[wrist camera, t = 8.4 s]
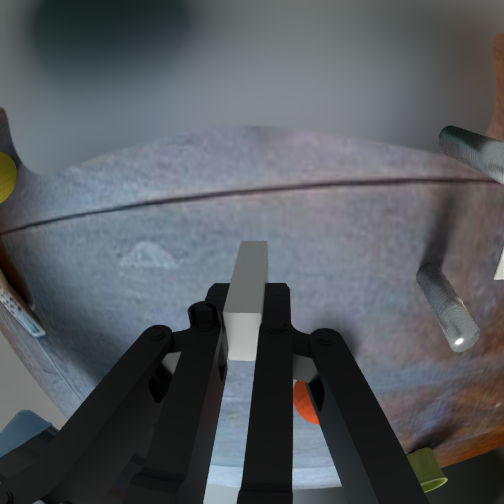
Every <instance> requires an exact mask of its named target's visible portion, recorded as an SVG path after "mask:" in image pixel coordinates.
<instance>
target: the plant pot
mask: <svg viewBox="0 0 504 504" xmlns="http://www.w3.org/2000/svg"><path fill="white" fill-rule="evenodd" d="M406 457H407V459H408V461H409V463H410V464H411V466H412V468H413V470H414V472H415V474H416V477H417V479H418V481H419V483H420V485H421V487H422V489H423V491H424V493H425V492H428V491H430V490H432V489H435V488H437V487H439V486H441V485H442V484H444V483H445V482H446V481H447V478H446V477H445V476H444V474H443V473H442V472H441V469H440V467H439V464H438V462H437V459H436V457H435V454H434V452H433V449H431V448H429V447H427V448H422V449H418V450H416V451H415V452H414V453H410V454H408V455H407V456H406Z"/></svg>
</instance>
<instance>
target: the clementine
mask: <svg viewBox="0 0 504 504" xmlns="http://www.w3.org/2000/svg"><path fill="white" fill-rule="evenodd" d="M293 402H294V406H295V408H296V410H297V412H298V413H299V414H300V415H301V416H302V417H303V418H304V419H305V420H307V421H309V422H311V423H314V424H319V421H318V418H317V416H316V413H315V410H314V408H313V405H312V402H311V400H310V397H309V394H308V391H307V389H306V386H305V382H303V381H299V380H297V381H296V383H295V386H294V389H293ZM319 425H320V424H319Z"/></svg>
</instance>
